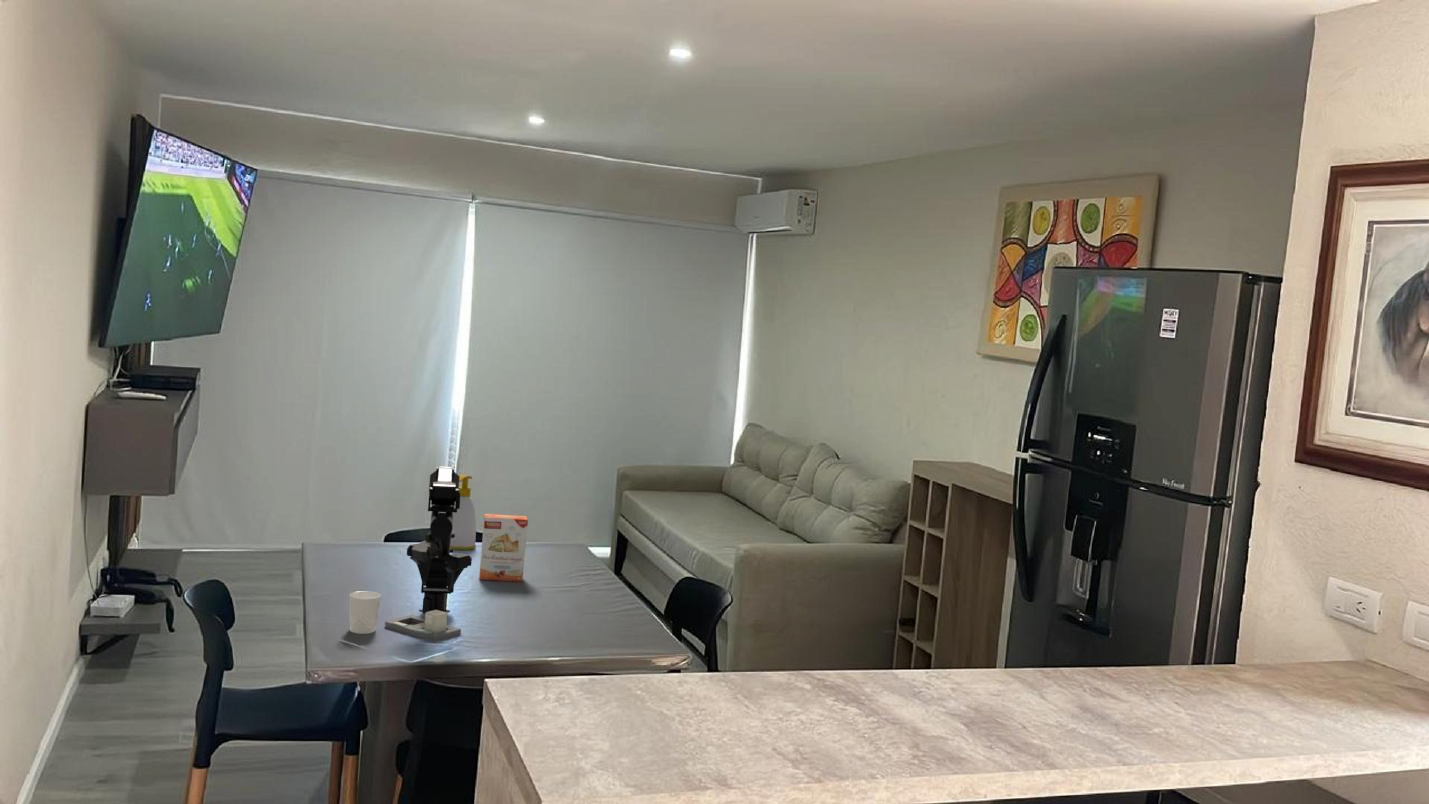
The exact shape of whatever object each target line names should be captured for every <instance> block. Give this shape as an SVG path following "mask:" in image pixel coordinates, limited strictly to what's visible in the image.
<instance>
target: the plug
mask: <svg viewBox="0 0 1429 804" xmlns="http://www.w3.org/2000/svg"><path fill="white" fill-rule="evenodd" d="M424 615H425V617H424V618H425V627H424V630H427V631H430V632H433V633H439V632H442V631H446V625H447V623H448V622H447V620H448V612H447V613H446V612H443V611H439V610H433V611H429V612H426V613H424Z"/></svg>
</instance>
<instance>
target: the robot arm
mask: <svg viewBox="0 0 1429 804" xmlns="http://www.w3.org/2000/svg"><path fill="white" fill-rule="evenodd" d="M459 476H460V475H458V474H457V472H455V467H452V466H441V465H439V466H436V470H435V471H433V472H432V473H431V474H430V475H429V483H428V484H429V487H428V492H429V493H428V502H427V503H428V505H427V506H428V507H427V512H431V513H430V514H431V515H430V524H429V532H428V533H426V534H425V539H424V540H423V541H420V542H419V543H413V544H409V546H408V547H407V548H406V556H407V557H409V559H410V560H412V561H413V562H414V563H415V564H416V566H417V570H418V573H419V576H420V580H421V589H420V590H421V591H420V592H421V594H423V599H422V608H421V609H419V610H418V611H419V612H420V613H424V614H425V613H426V612H429V611H433V610H439V611H443V612H446V613H447V614H448V613H450V612H451V610H449V609H447V603H448V594H449V595H452V593H454V589H455V587H454V586H455V584H456V582H457V580H458V579H459V577H460V575H461V574H462V572H463V571H464V570H465V569H467V568H469V567H471V566H472V561H473V559H472V557H471V555H469V554H467V553H466V554H465V553H462V552H458V553H454V549H452V548H451V538H455V534H453V533H452V529H453V513H452V512H455V513H457V509H460V494H461V493H460V492H459V487H460V482H459ZM455 502H456V504H455ZM454 505H455V508H454ZM452 553H453V554H452Z"/></svg>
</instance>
